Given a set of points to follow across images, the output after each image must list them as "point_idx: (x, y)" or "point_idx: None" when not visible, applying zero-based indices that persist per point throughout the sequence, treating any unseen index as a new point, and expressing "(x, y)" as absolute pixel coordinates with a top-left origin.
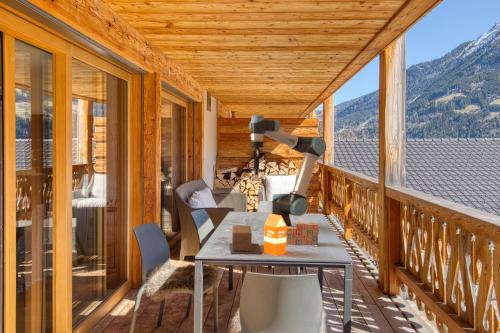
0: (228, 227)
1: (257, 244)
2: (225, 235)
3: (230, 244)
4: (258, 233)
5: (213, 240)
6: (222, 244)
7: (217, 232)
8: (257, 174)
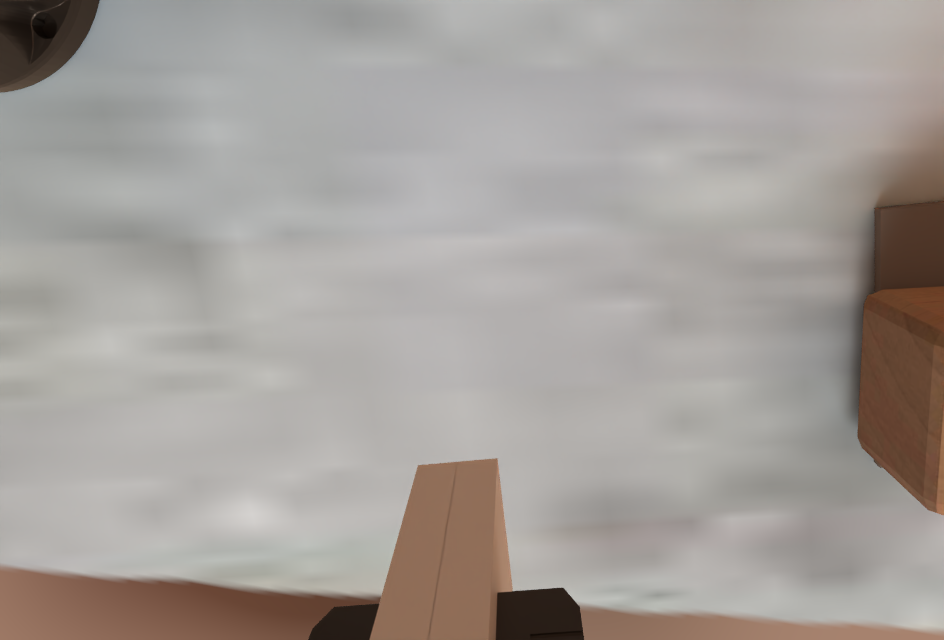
0: (115, 513)
1: (920, 216)
2: None
3: None
4: (344, 211)
5: (706, 599)
6: (857, 519)
7: (370, 592)
8: (567, 600)
